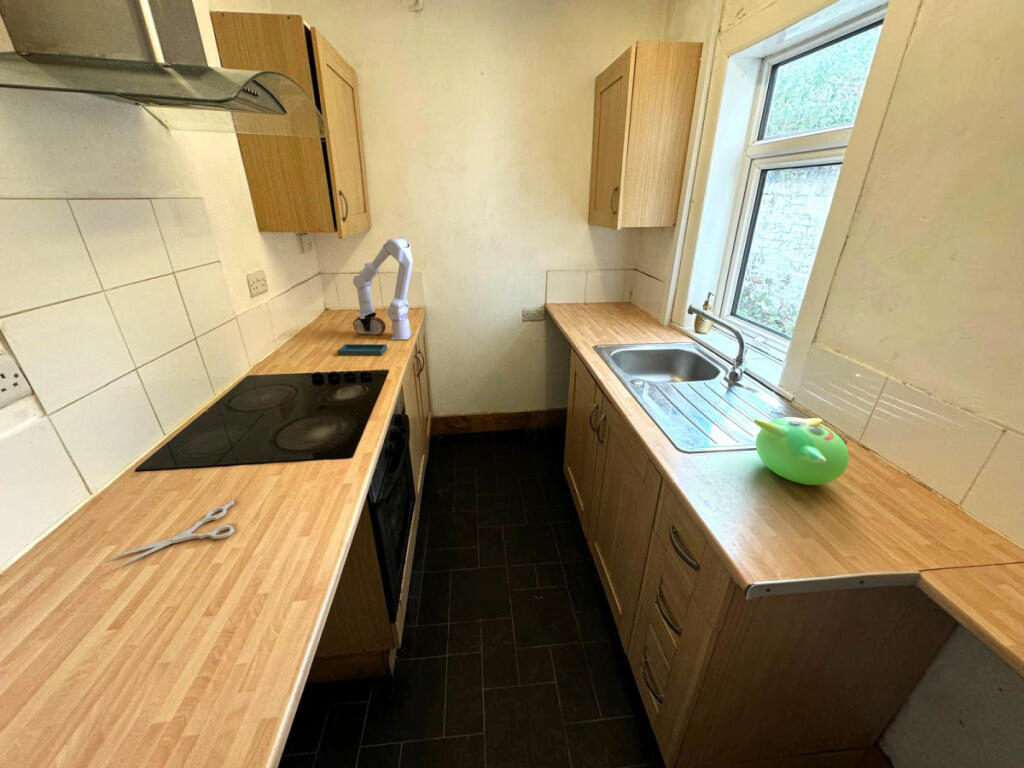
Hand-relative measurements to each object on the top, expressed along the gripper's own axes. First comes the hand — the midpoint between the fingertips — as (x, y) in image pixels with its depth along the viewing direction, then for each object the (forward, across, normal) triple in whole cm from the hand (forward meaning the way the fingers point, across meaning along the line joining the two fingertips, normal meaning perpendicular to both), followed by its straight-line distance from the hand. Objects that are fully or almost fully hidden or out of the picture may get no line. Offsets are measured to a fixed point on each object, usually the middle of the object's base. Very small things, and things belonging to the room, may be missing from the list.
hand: (369, 329), depth 197 cm
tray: (+2, +24, +5) cm, 25 cm away
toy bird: (+3, +106, +136) cm, 172 cm away
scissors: (+2, +129, +6) cm, 129 cm away
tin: (+3, 0, 0) cm, 3 cm away
